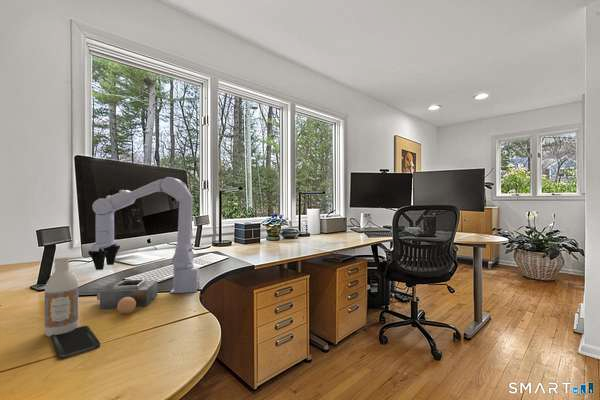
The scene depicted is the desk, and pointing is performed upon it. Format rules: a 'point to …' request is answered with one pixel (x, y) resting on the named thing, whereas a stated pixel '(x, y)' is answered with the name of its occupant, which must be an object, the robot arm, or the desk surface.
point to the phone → (74, 342)
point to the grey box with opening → (128, 293)
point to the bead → (126, 305)
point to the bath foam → (61, 299)
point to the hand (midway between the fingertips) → (105, 267)
